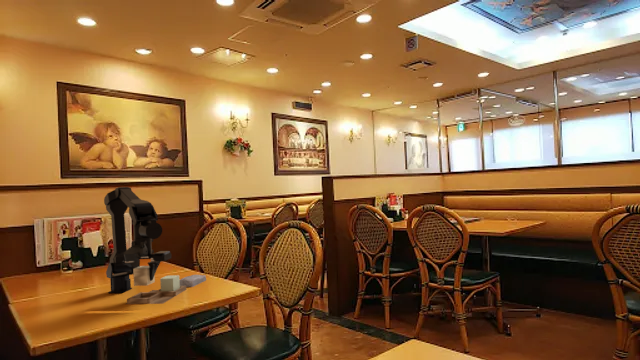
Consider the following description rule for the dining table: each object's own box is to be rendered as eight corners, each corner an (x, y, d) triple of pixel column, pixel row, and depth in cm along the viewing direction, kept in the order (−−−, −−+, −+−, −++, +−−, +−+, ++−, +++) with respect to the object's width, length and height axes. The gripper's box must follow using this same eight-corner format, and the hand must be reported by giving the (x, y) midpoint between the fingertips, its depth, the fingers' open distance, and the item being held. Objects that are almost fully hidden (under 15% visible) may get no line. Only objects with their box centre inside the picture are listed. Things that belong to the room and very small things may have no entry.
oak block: (133, 285, 138) (133, 268, 138) (141, 282, 143) (141, 265, 143) (147, 285, 137) (146, 268, 138) (154, 281, 142) (154, 265, 143)
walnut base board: (125, 306, 136) (124, 299, 136) (152, 292, 153) (152, 286, 153) (163, 305, 134) (162, 299, 134) (186, 291, 152) (186, 285, 152)
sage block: (161, 294, 146) (160, 278, 146) (167, 291, 151) (167, 275, 151) (173, 294, 145) (173, 278, 145) (179, 290, 150) (179, 275, 150)
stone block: (172, 294, 157) (194, 289, 155) (169, 282, 157) (191, 277, 155) (187, 287, 168) (208, 282, 167) (185, 276, 169) (206, 271, 167)
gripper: (103, 241, 133) (105, 286, 133) (155, 239, 131) (157, 286, 131) (123, 236, 145) (125, 278, 144) (171, 235, 142) (173, 278, 142)
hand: (144, 280), depth 140 cm, fingers closed on oak block, 5 cm apart
